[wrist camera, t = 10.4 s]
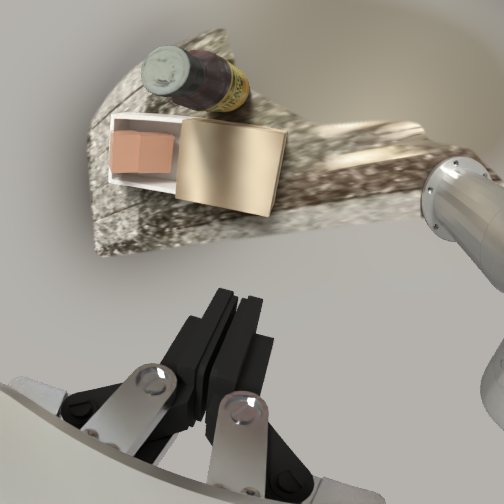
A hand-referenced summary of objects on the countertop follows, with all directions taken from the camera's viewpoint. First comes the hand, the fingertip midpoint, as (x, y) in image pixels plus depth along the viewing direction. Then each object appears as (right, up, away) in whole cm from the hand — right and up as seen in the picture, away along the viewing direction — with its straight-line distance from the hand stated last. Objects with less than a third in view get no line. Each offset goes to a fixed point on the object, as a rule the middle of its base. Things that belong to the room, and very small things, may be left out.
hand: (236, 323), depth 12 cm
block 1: (-15, +16, +26) cm, 34 cm away
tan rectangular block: (-1, +15, +29) cm, 33 cm away
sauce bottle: (-2, +24, +25) cm, 35 cm away
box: (-13, +18, +30) cm, 37 cm away
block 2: (-12, +15, +26) cm, 32 cm away
